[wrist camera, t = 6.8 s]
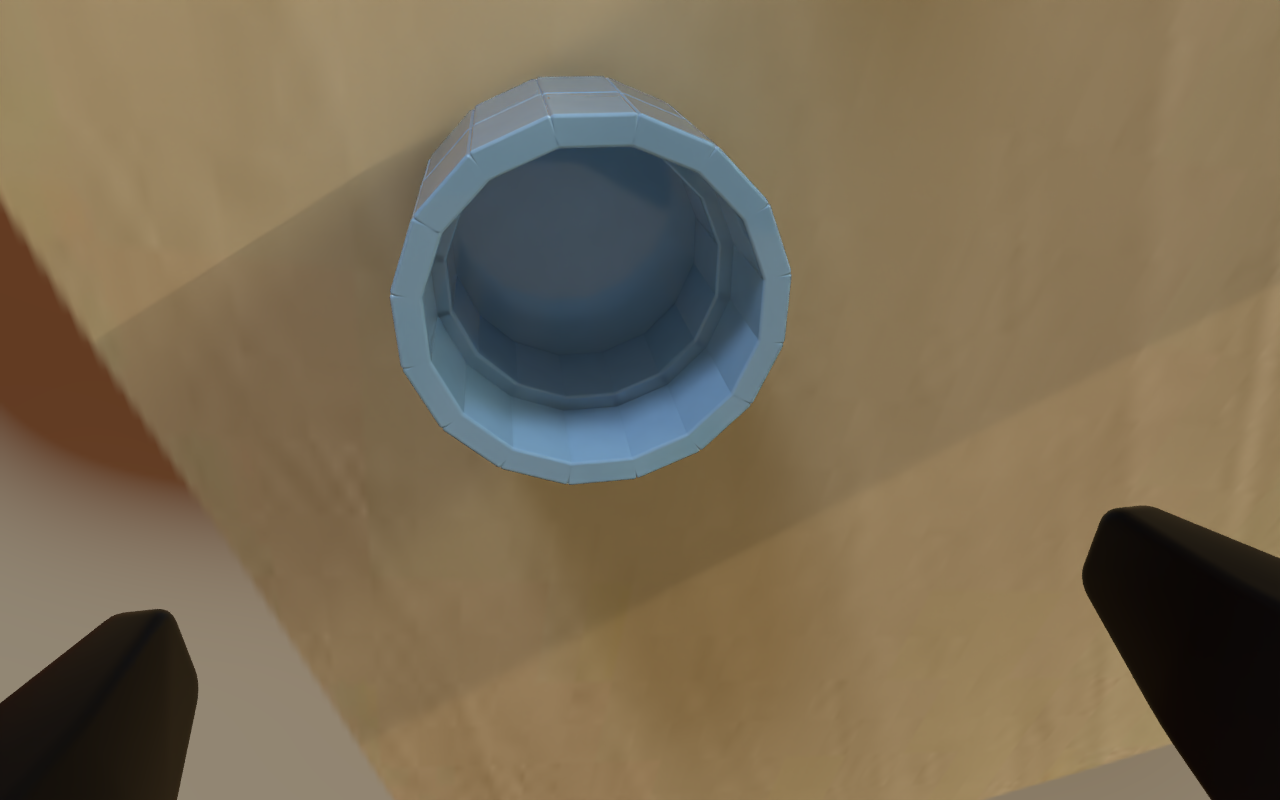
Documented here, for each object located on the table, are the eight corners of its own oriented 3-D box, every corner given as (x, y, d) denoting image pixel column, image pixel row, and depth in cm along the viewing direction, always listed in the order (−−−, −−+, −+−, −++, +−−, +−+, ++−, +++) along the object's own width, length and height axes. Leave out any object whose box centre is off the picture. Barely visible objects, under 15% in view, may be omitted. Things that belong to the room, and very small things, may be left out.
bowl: (436, 383, 18) (422, 499, 14) (393, 75, 15) (360, 118, 11) (715, 363, 19) (771, 467, 15) (733, 70, 16) (811, 108, 12)
